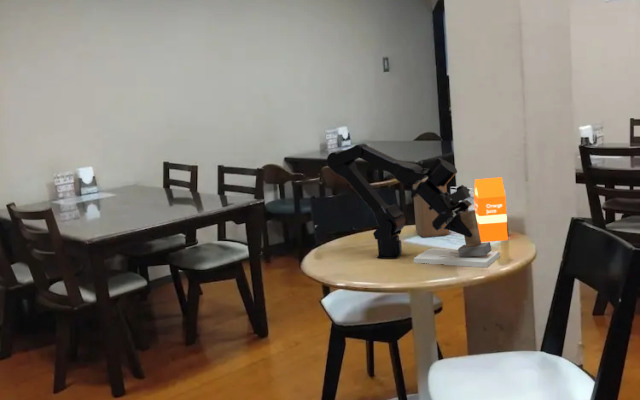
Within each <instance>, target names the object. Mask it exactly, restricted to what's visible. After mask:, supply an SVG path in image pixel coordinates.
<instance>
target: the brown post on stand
mask: <svg viewBox="0 0 640 400" xmlns="http://www.w3.org/2000/svg"><path fill="white" fill-rule="evenodd" d="M460 217H461V221H462V222H463V223H464V225H465V226H466V227H467V228H468V229H469V231H470V232H471V233H472V236H471V237H467V236H464V235H463V238H464V242H465V244H463V245H462V246H460V247H459V248H457V250H458V252H459V257H468V256H480V255H487V254H488V253H489V252H490V251H492V246H491V245H492V244H491V241H490V242H481V239H480V234H479V229H478V224H477V219H476V213H475V209H474V210H468V211H465V212H462V213H460Z"/></svg>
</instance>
